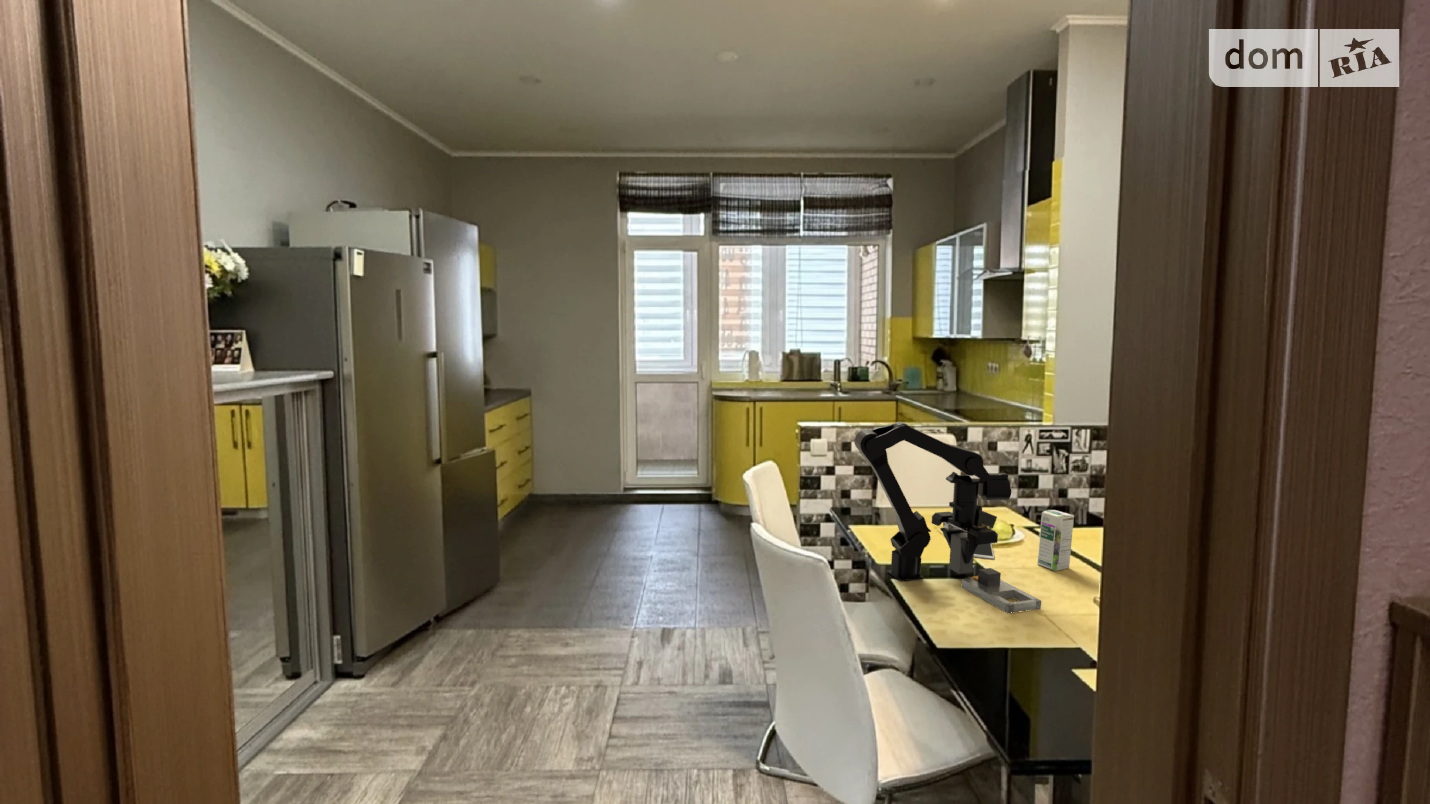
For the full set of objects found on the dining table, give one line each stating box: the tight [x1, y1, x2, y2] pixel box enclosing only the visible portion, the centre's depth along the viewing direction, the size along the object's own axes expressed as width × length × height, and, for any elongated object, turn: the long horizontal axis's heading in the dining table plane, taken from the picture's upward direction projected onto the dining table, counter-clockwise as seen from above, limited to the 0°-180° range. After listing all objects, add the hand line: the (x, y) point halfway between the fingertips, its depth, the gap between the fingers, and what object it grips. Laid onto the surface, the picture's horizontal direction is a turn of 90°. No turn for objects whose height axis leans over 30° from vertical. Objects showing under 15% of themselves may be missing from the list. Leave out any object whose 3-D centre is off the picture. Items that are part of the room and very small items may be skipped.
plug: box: [948, 532, 975, 575], centre depth 183 cm, size 4×4×9 cm
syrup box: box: [1037, 509, 1075, 572], centre depth 192 cm, size 6×6×14 cm
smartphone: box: [974, 543, 995, 560], centre depth 205 cm, size 7×15×1 cm, turn 163°
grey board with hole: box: [961, 567, 1042, 614], centre depth 170 cm, size 9×16×5 cm, turn 19°
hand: (961, 560), depth 184 cm, fingers closed on plug, 4 cm apart
